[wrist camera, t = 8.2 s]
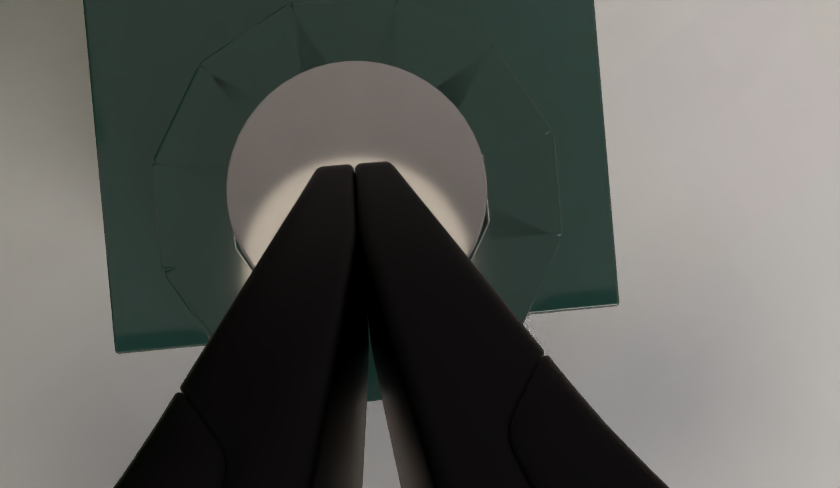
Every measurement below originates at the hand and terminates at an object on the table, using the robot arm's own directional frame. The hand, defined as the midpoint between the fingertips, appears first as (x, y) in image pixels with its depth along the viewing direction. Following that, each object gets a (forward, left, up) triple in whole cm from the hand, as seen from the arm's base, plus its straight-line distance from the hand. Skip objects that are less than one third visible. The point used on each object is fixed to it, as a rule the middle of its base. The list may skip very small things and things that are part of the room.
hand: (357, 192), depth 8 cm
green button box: (+3, +1, -11) cm, 11 cm away
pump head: (0, 0, -3) cm, 3 cm away
